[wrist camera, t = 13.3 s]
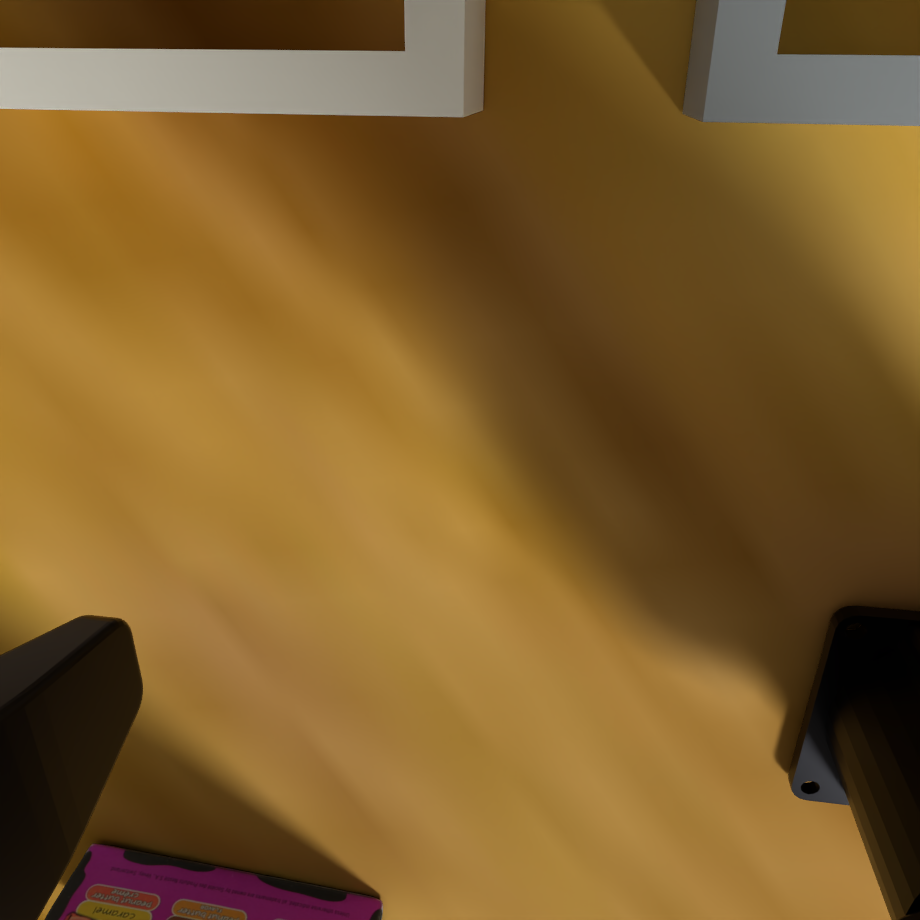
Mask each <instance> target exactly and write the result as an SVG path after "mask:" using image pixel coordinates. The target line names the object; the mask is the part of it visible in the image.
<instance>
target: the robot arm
mask: <svg viewBox="0 0 920 920" xmlns="http://www.w3.org/2000/svg"><path fill="white" fill-rule="evenodd" d="M856 623H859V624H861V625H860V626H859V627H858V628H856V629H852V630H848V629H847V627H848V626H850V625H852V624H856ZM142 694H143V683H142V677H141V673H140V668H139V663H138V659H137V654H136V650H135V645H134V641H133V636H132V632H131V629H130V627H129V625H128V624H127V623H126V622H125V621H124V620H122V619H119V618H113V617H103V616H94V615H85V616H80V617H78V618H75V619H73V620H71V621H69V622H67V623H65V624H63V625H61V626H59V627H57V628H55V629H53V630H51V631H49V632H47V633H45V634H43V635H41V636H39V637H37V638H35V639H33V640H31V641H29V642H26V643H24V644H22V645H20V646H18V647H16V648H14V649H12V650H10V651H8V652H6V653H4V654H2V655H0V920H37V919H38V917H39V916H40V914H41V912H42V910H43V909H44V907H45V905H46V903H47V902H48V900H49V898H50V896H51V895H52V893H53V891H54V889H55V888H56V886H57V884H58V882H59V880H60V878H61V877H62V875H63V873H64V871H65V869H66V867H67V866H68V864H69V862H70V860H71V858H72V856H73V854H74V852H75V850H76V848H77V846H78V844H79V842H80V840H81V837H82V835H83V833H84V831H85V829H86V827H87V824H88V822H89V820H90V818H91V816H92V813H93V811H94V809H95V807H96V804H97V802H98V800H99V798H100V795H101V793H102V791H103V789H104V786H105V784H106V782H107V780H108V777H109V775H110V773H111V771H112V769H113V766H114V764H115V762H116V760H117V757H118V755H119V753H120V751H121V748H122V746H123V744H124V742H125V739H126V737H127V735H128V733H129V731H130V728H131V726H132V724H133V722H134V719H135V717H136V715H137V713H138V710H139V707H140V704H141V700H142ZM788 779H789V783H790V786H791V789H792V792H793V793H794V795H795V796H797V797H798V798H800V799H804V800H809V801H818V802H826V803H834V804H843V805H850V807H851V810H852V813H853V816H854V818H855V821H856V824H857V827H858V829H859V832H860V835H861V838H862V840H863V843H864V846H865V849H866V851H867V854H868V857H869V860H870V862H871V865H872V868H873V871H874V873H875V876H876V879H877V881H878V884H879V887H880V890H881V892H882V895H883V898H884V901H885V903H886V906H887V909H888V912H889V914H890V917H891V920H920V611H910V610H898V609H887V608H876V607H865V606H847V607H844V608H841V609H839V610H838V611H837V612H836V613H834V615H833V617H832V618H831V621H830V624H829V628H828V632H827V635H826V639H825V642H824V646H823V650H822V653H821V657H820V661H819V664H818V668H817V672H816V675H815V679H814V683H813V686H812V690H811V694H810V697H809V701H808V705H807V708H806V712H805V716H804V719H803V723H802V727H801V730H800V734H799V737H798V741H797V745H796V748H795V752H794V756H793V759H792V763H791V767H790V770H789V774H788ZM807 781H812V782H810V783H805V782H807Z"/></svg>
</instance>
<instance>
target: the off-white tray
mask: <svg viewBox="0 0 920 920" xmlns="http://www.w3.org/2000/svg"><path fill="white" fill-rule="evenodd" d="M485 8H486V0H404V19H405V51H327V50H209V49H91V48H0V109H46V110H99V111H152V112H206V113H259V114H313V115H366V116H419V117H466V116H469V115H471V114H474V113H477V112H480V111H483V100H484V54H485Z"/></svg>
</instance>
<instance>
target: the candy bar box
mask: <svg viewBox="0 0 920 920" xmlns="http://www.w3.org/2000/svg"><path fill="white" fill-rule="evenodd" d="M382 913H383V903H382V901H381V900H379V899H376V898H374V897H371V896H366V895H361V894H355V893H351V892H346V891H341V890H336V889H331V888H326V887H321V886H316V885H311V884H306V883H300V882H295V881H290V880H286V879H281V878H275V877H269V876H264V875H259V874H254V873H249V872H244V871H239V870H234V869H228V868H223V867H218V866H213V865H208V864H203V863H197V862H192V861H187V860H181V859H176V858H170V857H165V856H161V855H156V854H150V853H145V852H139V851H134V850H129V849H124V848H119V847H114V846H109V845H103V844H92V845H91V846H90V847H89V849H88V850H87V851H86V853H85V855H84V857H83V858H82V860H81V862H80V863H79V865H78V866H77V868H76V869H75V871H74V872H73V874H72V875H71V877H70V879H69V880H68V882H67V884H66V885H65V887H64V888H63V890H62V891H61V893H60V895H59V896H58V898H57V899H56V901H55V903H54V904H53V906H52V908H51V909H50V911H49V913H48V914H47V916H46V918H45V920H382Z"/></svg>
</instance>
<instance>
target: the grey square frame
mask: <svg viewBox="0 0 920 920" xmlns="http://www.w3.org/2000/svg"><path fill="white" fill-rule="evenodd" d="M785 4H786V0H697V1H696V9H695V17H694V25H693V33H692V41H691V49H690V57H689V65H688V73H687V81H686V89H685V97H684V105H683V113H682V114H684V115H687V116H689V117H692V118H694V119H697V120H699V121H702V122H740V123H793V124H847V125H900V126H920V56H917V55H799V54H777V51H778V45H779V39H780V33H781V28H782V22H783V16H784V10H785Z"/></svg>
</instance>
